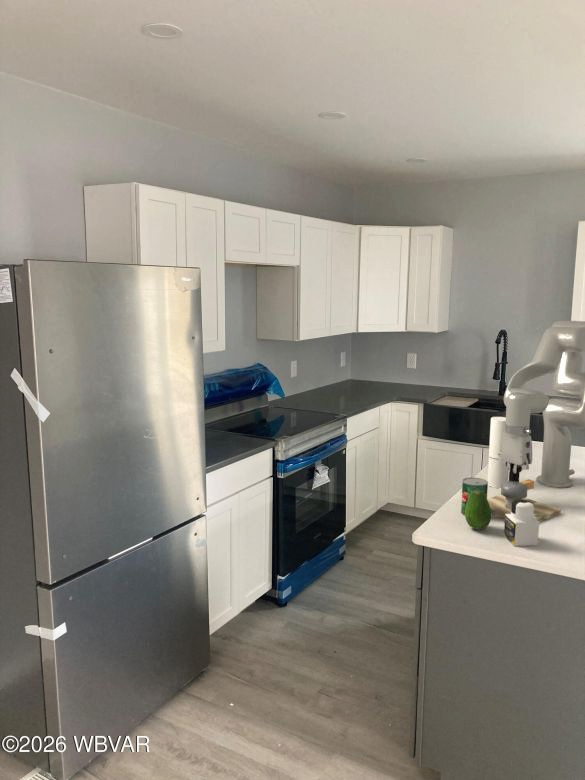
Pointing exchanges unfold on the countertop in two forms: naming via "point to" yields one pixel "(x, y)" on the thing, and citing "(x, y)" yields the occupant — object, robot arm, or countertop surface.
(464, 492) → the canned tomato
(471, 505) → the avocado
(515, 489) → the grey paddle
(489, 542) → the countertop surface
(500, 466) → the cylindrical container
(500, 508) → the plate
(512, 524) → the medicine bottle
